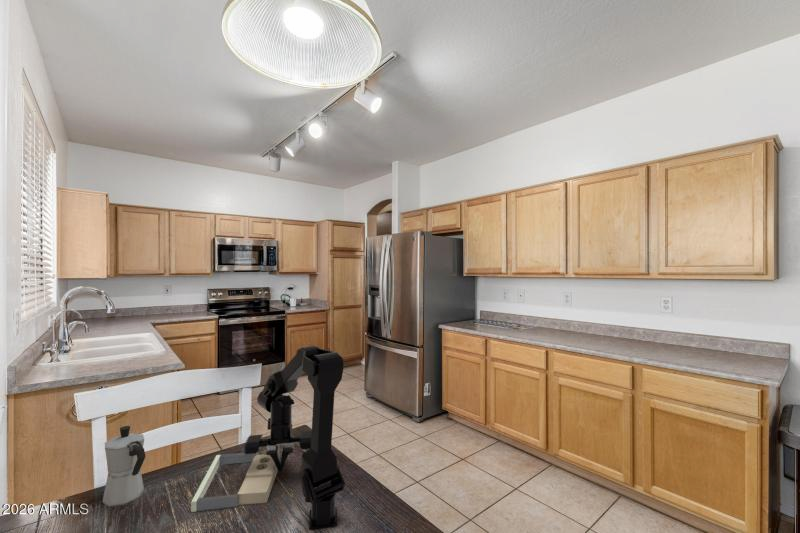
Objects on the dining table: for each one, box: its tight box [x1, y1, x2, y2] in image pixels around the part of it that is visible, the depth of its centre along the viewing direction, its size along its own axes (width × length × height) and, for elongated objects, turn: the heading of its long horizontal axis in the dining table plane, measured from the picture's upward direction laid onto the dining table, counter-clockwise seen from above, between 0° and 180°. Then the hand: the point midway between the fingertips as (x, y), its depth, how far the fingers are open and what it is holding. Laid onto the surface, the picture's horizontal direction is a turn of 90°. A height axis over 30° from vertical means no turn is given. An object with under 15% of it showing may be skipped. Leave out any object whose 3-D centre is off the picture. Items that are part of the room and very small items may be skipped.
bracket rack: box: [190, 452, 255, 513], centre depth 102 cm, size 23×11×2 cm, turn 12°
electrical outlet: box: [236, 453, 279, 506], centre depth 102 cm, size 7×4×18 cm
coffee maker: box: [101, 425, 146, 508], centre depth 95 cm, size 15×9×18 cm, turn 62°
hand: (280, 471), depth 105 cm, fingers closed
